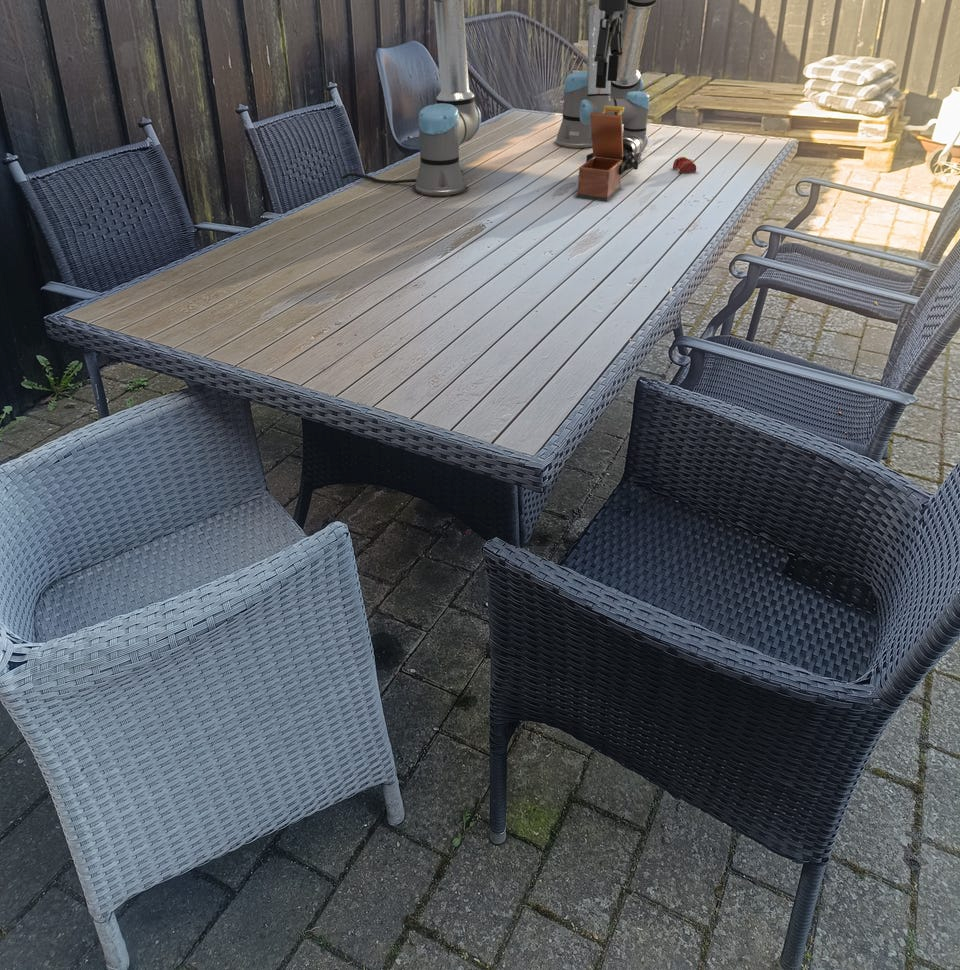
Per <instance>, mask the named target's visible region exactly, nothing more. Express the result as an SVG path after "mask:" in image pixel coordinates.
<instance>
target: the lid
mask: <svg viewBox="0 0 960 970" xmlns="http://www.w3.org/2000/svg"><path fill="white" fill-rule="evenodd" d="M606 111H611V112H619V114H618V115H614V114H605V113H606ZM623 112H624V107H618V106H607V105H605V106H604V110H603V112H602V113H593V112H591V114H590V120H591V133H592V146H593V147H592V153H593V155H594V156H603V157H612V158H621V159H622V158H623V124H622V115H621V114H622V113H623Z"/></svg>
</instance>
